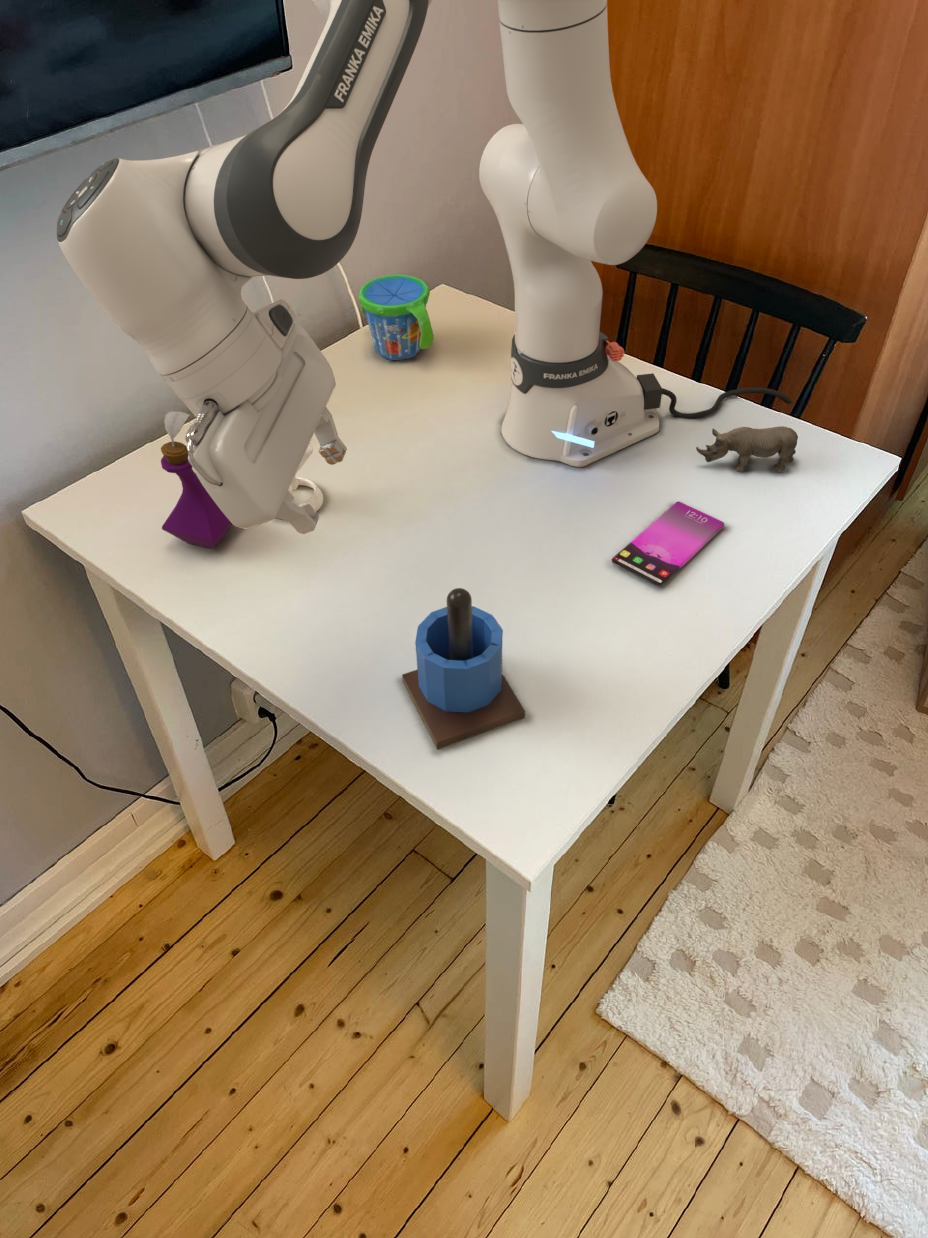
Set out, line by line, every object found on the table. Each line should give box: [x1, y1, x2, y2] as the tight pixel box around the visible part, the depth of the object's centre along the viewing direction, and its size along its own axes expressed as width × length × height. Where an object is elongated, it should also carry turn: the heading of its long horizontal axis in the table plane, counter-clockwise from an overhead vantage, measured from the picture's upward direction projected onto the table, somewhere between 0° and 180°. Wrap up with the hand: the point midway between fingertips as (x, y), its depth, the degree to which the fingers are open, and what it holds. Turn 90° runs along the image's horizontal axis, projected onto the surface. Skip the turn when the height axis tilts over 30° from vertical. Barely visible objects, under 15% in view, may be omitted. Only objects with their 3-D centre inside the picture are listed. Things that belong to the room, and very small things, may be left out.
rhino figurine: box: [695, 425, 799, 473], centre depth 128 cm, size 4×14×6 cm, turn 89°
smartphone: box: [611, 501, 725, 587], centre depth 119 cm, size 7×15×1 cm, turn 139°
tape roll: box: [414, 605, 504, 713], centre depth 101 cm, size 9×9×7 cm
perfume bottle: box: [160, 410, 234, 550], centre depth 116 cm, size 8×8×18 cm
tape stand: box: [401, 587, 526, 750], centre depth 97 cm, size 10×10×16 cm
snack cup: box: [358, 274, 435, 361], centre depth 149 cm, size 16×10×10 cm
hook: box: [277, 442, 324, 520], centre depth 124 cm, size 8×12×7 cm
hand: (325, 491), depth 85 cm, fingers open, 8 cm apart
